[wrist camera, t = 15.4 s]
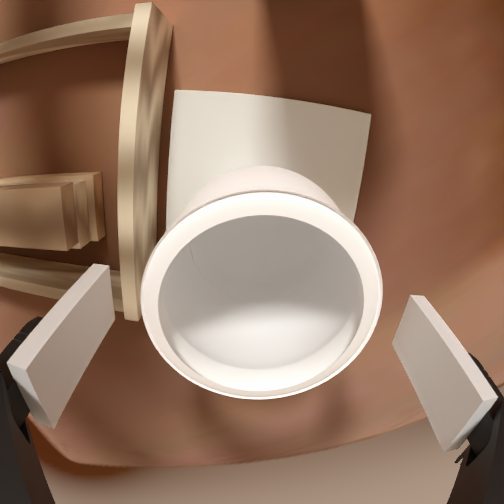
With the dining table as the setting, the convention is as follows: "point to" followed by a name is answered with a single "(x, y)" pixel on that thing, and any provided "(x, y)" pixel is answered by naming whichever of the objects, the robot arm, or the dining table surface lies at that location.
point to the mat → (263, 143)
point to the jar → (261, 286)
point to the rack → (129, 153)
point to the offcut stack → (51, 210)
